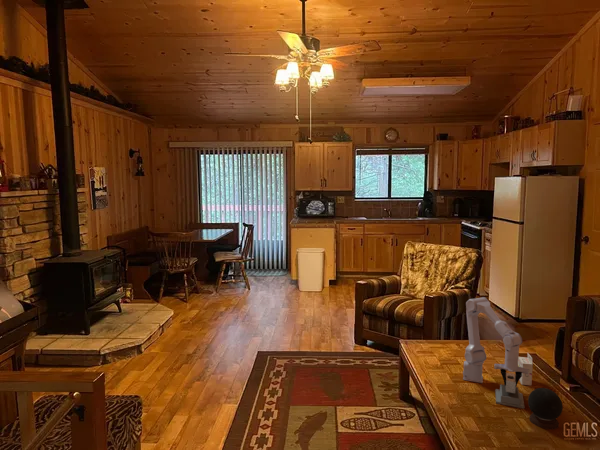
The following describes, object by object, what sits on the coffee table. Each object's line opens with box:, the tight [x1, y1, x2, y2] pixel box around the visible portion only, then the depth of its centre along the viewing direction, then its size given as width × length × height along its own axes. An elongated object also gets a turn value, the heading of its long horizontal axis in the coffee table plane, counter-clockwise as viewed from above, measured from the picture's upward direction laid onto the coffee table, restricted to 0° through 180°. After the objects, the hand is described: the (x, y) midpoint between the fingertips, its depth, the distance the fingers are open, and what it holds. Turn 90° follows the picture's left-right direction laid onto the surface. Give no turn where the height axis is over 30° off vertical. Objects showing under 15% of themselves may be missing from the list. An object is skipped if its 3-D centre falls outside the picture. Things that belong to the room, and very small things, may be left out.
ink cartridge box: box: [518, 352, 534, 386], centre depth 222 cm, size 9×5×15 cm, turn 168°
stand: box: [494, 384, 525, 409], centre depth 205 cm, size 12×13×4 cm
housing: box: [505, 372, 517, 393], centre depth 204 cm, size 9×4×6 cm, turn 156°
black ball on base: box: [527, 387, 564, 431], centre depth 186 cm, size 13×13×15 cm
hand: (510, 385), depth 205 cm, fingers closed on housing, 4 cm apart
